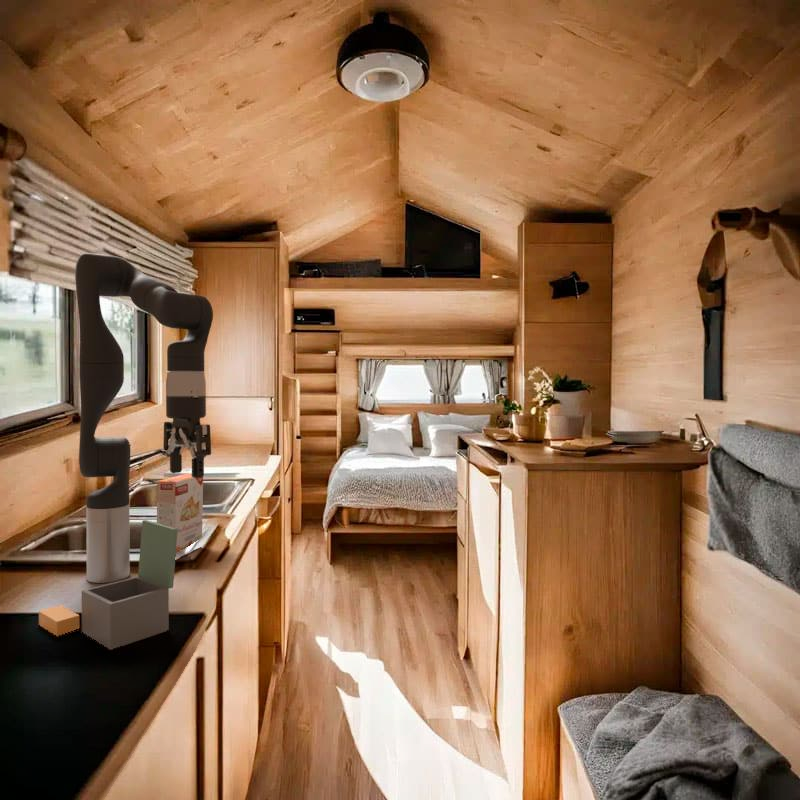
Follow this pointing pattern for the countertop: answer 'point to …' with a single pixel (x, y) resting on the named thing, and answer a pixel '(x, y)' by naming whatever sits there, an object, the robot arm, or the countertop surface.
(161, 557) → the lid
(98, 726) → the countertop surface
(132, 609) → the storage box
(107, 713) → the countertop surface
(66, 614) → the orange rectangular block
